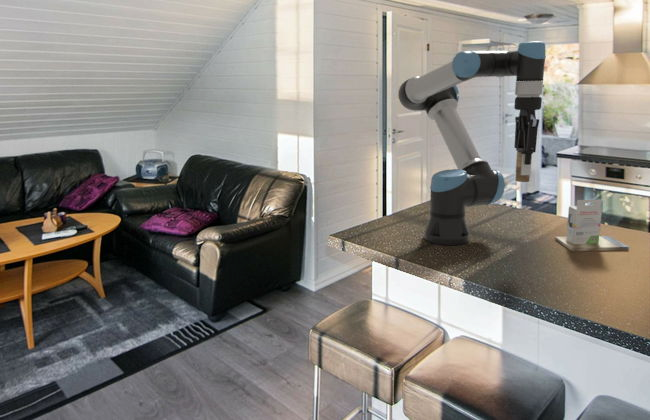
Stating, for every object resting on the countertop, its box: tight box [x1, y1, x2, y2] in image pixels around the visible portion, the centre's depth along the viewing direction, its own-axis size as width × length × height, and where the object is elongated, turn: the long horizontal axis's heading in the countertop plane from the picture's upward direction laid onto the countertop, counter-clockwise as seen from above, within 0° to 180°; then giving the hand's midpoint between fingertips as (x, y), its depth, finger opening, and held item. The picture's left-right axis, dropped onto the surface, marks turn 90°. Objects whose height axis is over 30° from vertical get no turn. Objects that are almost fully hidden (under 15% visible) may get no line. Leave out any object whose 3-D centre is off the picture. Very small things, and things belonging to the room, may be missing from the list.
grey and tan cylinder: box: [515, 148, 531, 183], centre depth 159 cm, size 4×4×10 cm
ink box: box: [565, 198, 603, 244], centre depth 166 cm, size 9×5×15 cm, turn 91°
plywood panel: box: [554, 235, 630, 252], centre depth 168 cm, size 18×12×1 cm, turn 89°
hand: (522, 173), depth 160 cm, fingers closed on grey and tan cylinder, 4 cm apart
